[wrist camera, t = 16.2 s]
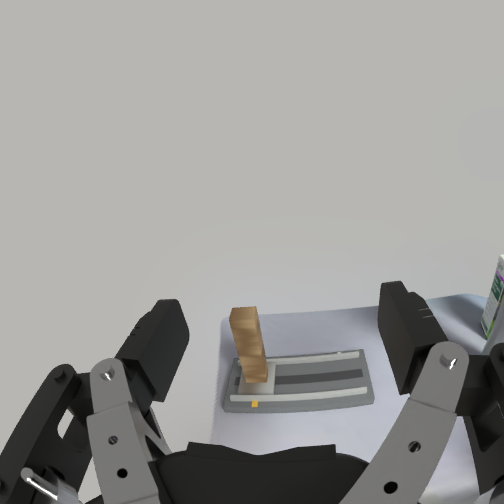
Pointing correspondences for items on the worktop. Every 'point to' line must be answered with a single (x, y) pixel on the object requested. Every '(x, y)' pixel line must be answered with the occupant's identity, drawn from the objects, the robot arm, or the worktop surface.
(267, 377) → the fader tab
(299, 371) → the grey slider track base
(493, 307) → the syrup box
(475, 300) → the worktop surface
